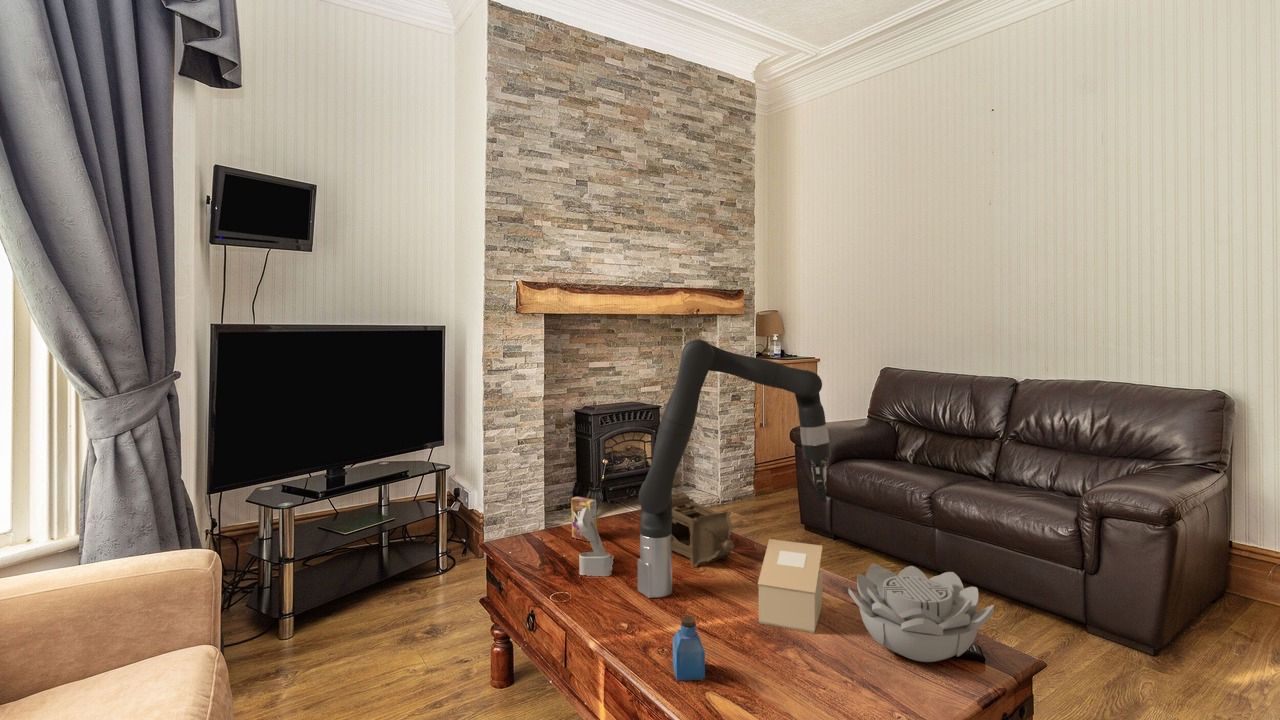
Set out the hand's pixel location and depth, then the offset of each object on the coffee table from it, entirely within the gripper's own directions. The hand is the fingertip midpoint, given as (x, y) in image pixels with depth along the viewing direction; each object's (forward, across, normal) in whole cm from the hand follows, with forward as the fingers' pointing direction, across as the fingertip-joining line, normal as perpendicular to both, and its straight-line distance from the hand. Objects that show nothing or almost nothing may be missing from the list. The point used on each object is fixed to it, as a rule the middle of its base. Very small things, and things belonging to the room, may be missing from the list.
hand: (823, 497), depth 171 cm
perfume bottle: (+24, +49, -31) cm, 62 cm away
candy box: (+18, -24, -87) cm, 92 cm away
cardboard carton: (+27, +14, -11) cm, 33 cm away
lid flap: (+13, +15, -10) cm, 22 cm away
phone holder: (+19, -2, -73) cm, 76 cm away
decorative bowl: (+31, +24, +17) cm, 42 cm away
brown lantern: (+24, -21, -45) cm, 55 cm away
